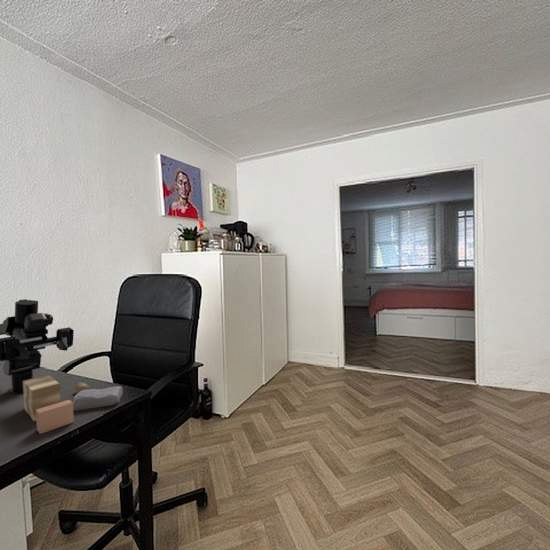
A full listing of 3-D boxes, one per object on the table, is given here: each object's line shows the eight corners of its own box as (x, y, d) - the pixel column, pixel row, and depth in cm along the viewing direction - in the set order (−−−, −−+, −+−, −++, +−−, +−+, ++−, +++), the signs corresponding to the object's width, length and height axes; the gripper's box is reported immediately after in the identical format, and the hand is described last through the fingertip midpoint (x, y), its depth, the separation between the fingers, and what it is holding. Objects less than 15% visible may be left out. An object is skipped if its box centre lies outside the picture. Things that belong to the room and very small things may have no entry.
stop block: (36, 429, 74) (35, 409, 74) (70, 418, 80) (69, 399, 80) (39, 433, 72) (38, 413, 72) (73, 422, 78) (72, 402, 78)
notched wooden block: (24, 408, 87) (22, 380, 87) (49, 401, 91) (48, 374, 91) (33, 421, 79) (32, 390, 79) (61, 412, 83) (59, 383, 83)
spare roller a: (75, 393, 97) (74, 383, 97) (85, 390, 99) (85, 381, 99) (80, 397, 94) (80, 387, 94) (90, 394, 96) (90, 384, 96)
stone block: (82, 404, 93) (70, 412, 83) (83, 388, 94) (71, 394, 84) (125, 400, 96) (117, 407, 86) (125, 384, 97) (118, 389, 87)
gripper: (-10, 315, 88) (8, 332, 80) (63, 307, 104) (85, 321, 95) (-11, 351, 90) (7, 372, 81) (62, 338, 105) (83, 354, 97)
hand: (49, 352), depth 89 cm, fingers open, 9 cm apart
